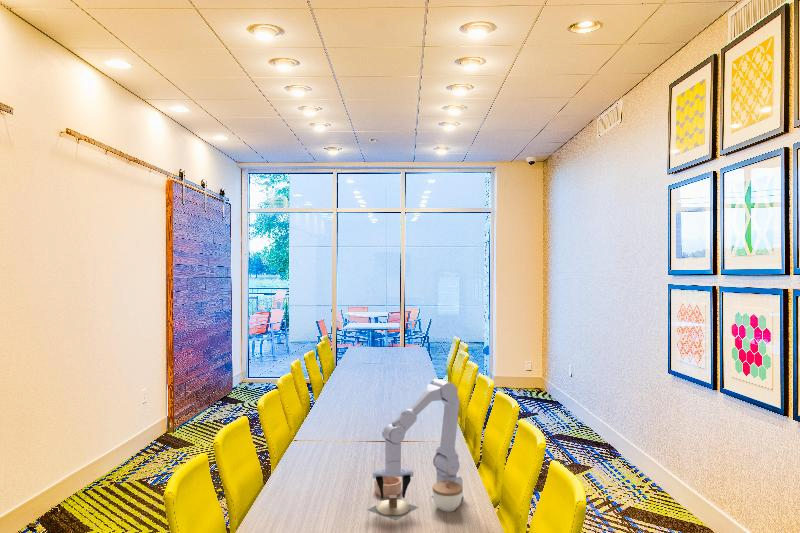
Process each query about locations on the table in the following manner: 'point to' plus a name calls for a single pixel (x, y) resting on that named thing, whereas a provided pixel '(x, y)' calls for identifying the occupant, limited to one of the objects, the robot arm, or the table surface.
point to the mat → (393, 516)
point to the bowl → (389, 486)
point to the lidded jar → (447, 495)
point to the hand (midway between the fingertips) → (392, 497)
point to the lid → (392, 506)
